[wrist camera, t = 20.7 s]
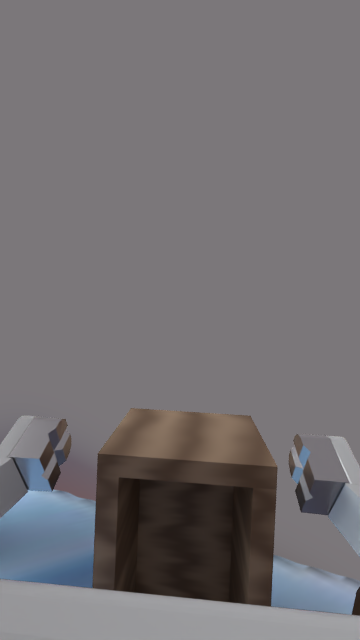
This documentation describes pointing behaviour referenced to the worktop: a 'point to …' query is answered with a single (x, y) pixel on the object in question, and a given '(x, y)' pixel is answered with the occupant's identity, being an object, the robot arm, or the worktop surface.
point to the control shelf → (186, 508)
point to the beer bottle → (357, 604)
